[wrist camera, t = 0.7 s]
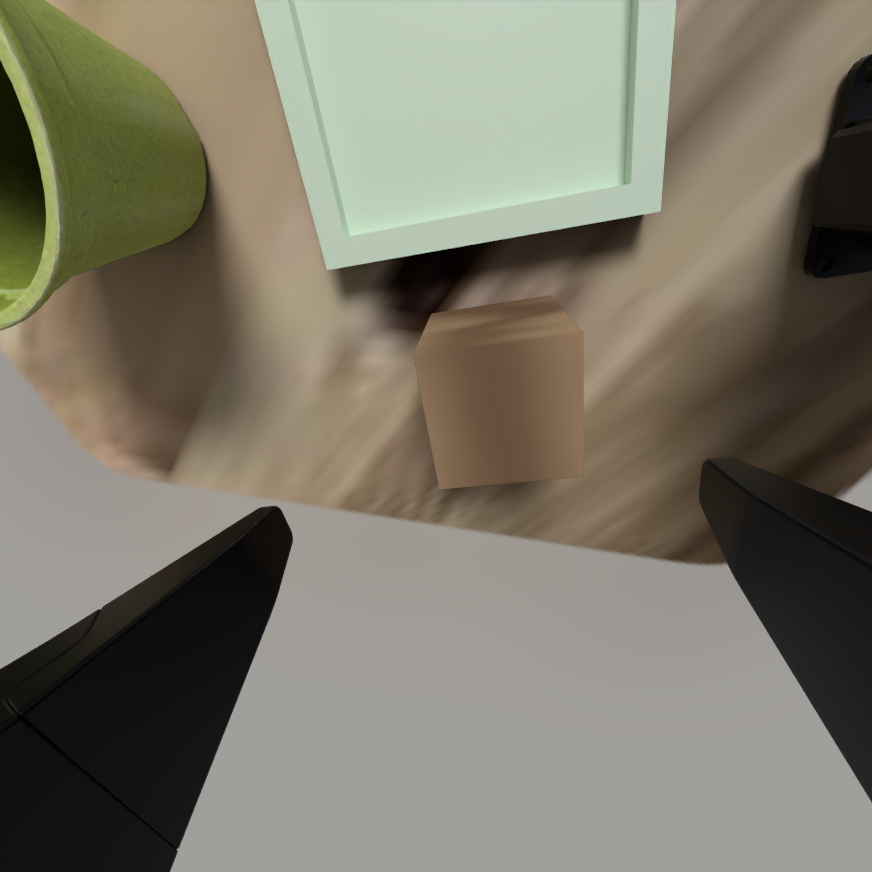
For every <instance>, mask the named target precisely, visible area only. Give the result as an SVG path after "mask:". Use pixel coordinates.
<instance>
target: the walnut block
mask: <svg viewBox="0 0 872 872" xmlns="http://www.w3.org/2000/svg"><path fill="white" fill-rule="evenodd" d="M413 357H414V362H415V367H416V372H417V377H418V382H419V388H420V393H421V398H422V403H423V408H424V413H425V418H426V423H427V428H428V433H429V439H430V444H431V449H432V454H433V459H434V464H435V469H436V474H437V479H438V485H439V489H449V488H461V487H472V486H483V485H495V484H506V483H518V482H529V481H541V480H552V479H564V478H575V477H584V389H583V331H582V330H581V328H580V327H579V326H578V325H577V324H576V323H575V322H574V321H573V320H572V319H571V317H570V316H569V315H568V314H567V313H566V312H565V311H564V310H563V309H562V308H561V307H560V305H559V304H558V303H557V302H556V301H555V300H554V299H553V298H552V297H551V296H544V297H537V298H531V299H524V300H518V301H511V302H505V303H498V304H492V305H485V306H479V307H472V308H466V309H459V310H453V311H446V312H440V313H433V314H431V316H430V318H429V321H428V323H427V325H426V327H425V330H424V332H423V334H422V336H421V339H420V341H419V343H418V345H417V348H416V350H415V352H414V354H413Z"/></svg>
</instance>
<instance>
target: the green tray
mask: <svg viewBox="0 0 872 872" xmlns="http://www.w3.org/2000/svg"><path fill="white" fill-rule="evenodd" d="M255 4H256V8H257V12H258V15H259V19H260V23H261V26H262V30H263V34H264V38H265V41H266V45H267V49H268V53H269V56H270V60H271V64H272V67H273V71H274V75H275V79H276V82H277V86H278V90H279V93H280V97H281V101H282V105H283V108H284V112H285V116H286V119H287V123H288V127H289V131H290V134H291V138H292V142H293V146H294V149H295V153H296V157H297V160H298V164H299V168H300V172H301V175H302V179H303V183H304V186H305V190H306V194H307V198H308V201H309V205H310V209H311V213H312V216H313V220H314V224H315V227H316V231H317V235H318V239H319V242H320V246H321V250H322V253H323V257H324V261H325V265H326V268H327V270H331V269H337V268H343V267H348V266H354V265H360V264H365V263H371V262H377V261H382V260H388V259H394V258H399V257H405V256H411V255H416V254H422V253H428V252H433V251H439V250H445V249H450V248H456V247H462V246H467V245H473V244H479V243H484V242H490V241H496V240H501V239H507V238H513V237H518V236H524V235H530V234H536V233H541V232H547V231H553V230H558V229H564V228H570V227H575V226H581V225H587V224H592V223H598V222H604V221H609V220H615V219H621V218H626V217H632V216H638V215H643V214H649V213H655V212H660V211H661V199H662V186H663V172H664V159H665V145H666V132H667V118H668V105H669V91H670V78H671V64H672V51H673V37H674V24H675V10H676V0H255Z"/></svg>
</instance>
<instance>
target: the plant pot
mask: <svg viewBox="0 0 872 872" xmlns="http://www.w3.org/2000/svg"><path fill="white" fill-rule="evenodd" d="M205 193H206V167H205V160H204V155H203V151H202V147H201V144H200V141H199V138H198V136H197V134H196V133H195V131H194V129H193V128H192V126H191V124H190V123H189V121H188V119H187V117H186V116H185V114H184V112H183V110H182V108H181V107H180V105H179V103H178V102H177V100H176V98H175V96H174V94H173V93H172V91H171V90H170V89H169V88H168V87H167V85H166V84H165V83H164V82H163V81H162V80H161V79H160V78H159V77H158V76H157V75H156V74H154V73H153V72H152V71H151V70H150V69H148V68H147V67H145V66H144V65H143V64H141V63H140V62H138V61H136V60H135V59H133V58H131V57H130V56H129V55H127V54H126V53H124V52H123V51H121V50H120V49H118V48H116V47H115V46H113V45H112V44H110V43H109V42H107V41H106V40H104V39H103V38H101V37H99V36H98V35H96V34H95V33H93V32H92V31H90V30H89V29H87V28H86V27H84V26H83V25H81V24H80V23H78V22H77V21H75V20H74V19H72V18H71V17H69V16H68V15H66V14H65V13H63V12H62V11H60V10H59V9H57V8H56V7H54V6H53V5H51V4H50V3H48V2H47V1H45V0H0V331H1V330H4V329H6V328H9V327H12V326H14V325H16V324H18V323H20V322H22V321H24V320H26V319H27V318H29V317H30V316H32V315H33V314H34V313H35V312H36V311H37V310H39V309H40V308H41V306H42V305H43V304H44V303H45V302H46V301H47V300H48V299H49V298H50V296H51V295H52V293H53V292H54V291H55V290H57V289H58V288H60V287H61V286H62V285H63V284H64V283H66V282H67V281H68V280H69V279H70V278H71V277H72V276H75V275H78V274H81V273H83V272H86V271H89V270H91V269H94V268H97V267H99V266H102V265H105V264H107V263H110V262H112V261H115V260H118V259H121V258H124V257H126V256H129V255H132V254H135V253H138V252H141V251H144V250H147V249H150V248H152V247H155V246H158V245H161V244H164V243H167V242H170V241H172V240H174V239H175V238H177V237H179V236H180V235H181V234H183V233H184V232H185V231H186V230H188V229H189V228H190V227H191V226H193V224H194V223H195V221H196V220H197V218H198V216H199V214H200V212H201V209H202V207H203V203H204V199H205Z"/></svg>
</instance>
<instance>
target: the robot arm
mask: <svg viewBox="0 0 872 872" xmlns="http://www.w3.org/2000/svg"><path fill="white" fill-rule="evenodd" d="M869 66H871V67H872V54H871V55H868V56H866V57H863V58H861V59H860V60H859V61H857V62H856V63H855V64H854V65H853V66H852V68H851V69H850V71H849V72H848V75H847V77H846V80H845V84H844V89H843V93H842V98H841V102H840V107H839V111H838V115H837V120H836V124H835V129H834V133H833V137H832V138H831V140H830V141H829V145H828V149H827V154H826V158H825V163H824V167H823V171H822V176H821V180H820V185H819V189H818V194H817V198H816V203H815V207H814V212H813V216H812V222H813V226H812V230H811V235H810V239H809V244H808V248H807V252H806V257H805V261H804V272H805V274H806V275H808V276H810V277H815V278H827V277H834V276H841V275H848V274H855V273H862V272H868V271H872V77H871V79H870V80H869V82H867V81H866V80H865V72H866V70H867V68H868V67H869ZM825 257H826V263H825V265H824V266H823V267H822V268H821V269H819V263H820V261H821V260H822V259H823V258H825ZM699 500H700V504H701V507H702V509H703V512H704V514H705V516H706V518H707V520H708V522H709V525H710V527H711V529H712V531H713V533H714V535H715V538H716V540H717V542H718V544H719V546H720V548H721V551H722V553H723V555H724V557H725V559H726V561H727V564H728V566H729V568H730V570H731V572H732V574H733V575H734V577H735V579H736V581H737V583H738V584H739V586H740V588H741V589H742V591H743V593H744V594H745V596H746V598H747V599H748V601H749V603H750V604H751V606H752V607H753V609H754V611H755V612H756V614H757V616H758V617H759V619H760V620H761V622H762V623H763V625H764V627H765V629H766V630H767V632H768V633H769V635H770V637H771V638H772V640H773V642H774V643H775V645H776V647H777V648H778V650H779V652H780V653H781V655H782V656H783V658H784V660H785V661H786V663H787V665H788V666H789V668H790V669H791V671H792V673H793V674H794V676H795V678H796V679H797V681H798V683H799V684H800V686H801V687H802V689H803V691H804V692H805V694H806V696H807V697H808V699H809V701H810V702H811V704H812V705H813V707H814V709H815V710H816V712H817V714H818V715H819V717H820V719H821V720H822V722H823V723H824V725H825V727H826V728H827V730H828V732H829V733H830V735H831V737H832V738H833V740H834V741H835V743H836V745H837V746H838V748H839V750H840V751H841V753H842V754H843V756H844V758H845V759H846V761H847V763H848V764H849V766H850V767H851V769H852V771H853V772H854V774H855V776H856V777H857V779H858V781H859V782H860V784H861V786H862V787H863V789H864V790H865V792H866V794H867V795H868V797H869V799H870V800H871V802H872V512H871V511H868V510H865V509H863V508H860V507H858V506H855V505H852V504H850V503H847V502H845V501H842V500H840V499H837V498H834V497H832V496H829V495H827V494H824V493H821V492H819V491H816V490H814V489H811V488H808V487H806V486H803V485H801V484H798V483H795V482H793V481H790V480H788V479H785V478H783V477H780V476H777V475H775V474H772V473H770V472H767V471H764V470H762V469H759V468H757V467H754V466H751V465H749V464H746V463H744V462H741V461H738V460H736V459H733V458H730V457H721V458H712V459H707V460H705V461H704V462H703V464H702V470H701V479H700V488H699ZM292 541H293V537H292V532H291V529H290V527H289V525H288V523H287V521H286V519H285V517H284V515H283V513H282V511H281V509H280V508H279V507H277V506H268V507H261V508H258V509H257V510H255V511H254V512H252V513H250V514H249V515H247V516H246V517H244V518H242V519H241V520H239V521H238V522H236V523H235V524H233V525H231V526H230V527H228V528H227V529H225V530H223V531H222V532H220V533H219V534H217V535H216V536H214V537H212V538H211V539H209V540H208V541H206V542H204V543H203V544H201V545H200V546H198V547H197V548H195V549H193V550H192V551H190V552H189V553H187V554H185V555H184V556H182V557H181V558H179V559H178V560H176V561H174V562H173V563H171V564H170V565H168V566H167V567H165V568H163V569H162V570H160V571H159V572H157V573H155V574H154V575H152V576H151V577H149V578H147V579H146V580H144V581H143V582H141V583H140V584H138V585H136V586H135V587H133V588H132V589H130V590H128V591H127V592H125V593H124V594H122V595H120V596H119V597H117V598H116V599H114V600H113V601H111V602H110V603H108V604H106V605H105V606H103V607H102V609H99V610H97V611H95V612H93V613H92V614H90V615H89V616H87V617H86V618H84V619H82V620H81V621H79V622H78V623H76V624H74V625H73V626H71V627H69V628H68V629H66V630H65V631H63V632H61V633H60V634H58V635H57V636H55V637H53V638H52V639H50V640H49V641H47V642H45V643H43V644H42V645H40V646H38V647H37V648H35V649H33V650H32V651H30V652H28V653H27V654H25V655H23V656H22V657H20V658H18V659H16V660H15V661H13V662H11V663H10V664H8V665H6V666H5V667H3V668H1V669H0V872H170V870H171V868H172V865H173V862H174V860H175V857H176V855H177V852H178V851H177V849H178V848H179V846H180V844H181V841H182V839H183V836H184V834H185V831H186V829H187V826H188V824H189V821H190V818H191V816H192V813H193V811H194V808H195V806H196V803H197V801H198V798H199V795H200V793H201V791H202V788H203V786H204V783H205V780H206V778H207V775H208V773H209V770H210V768H211V765H212V763H213V760H214V758H215V755H216V752H217V750H218V747H219V745H220V742H221V740H222V737H223V735H224V732H225V730H226V727H227V724H228V722H229V719H230V717H231V714H232V712H233V709H234V707H235V704H236V702H237V699H238V697H239V694H240V691H241V689H242V686H243V684H244V681H245V679H246V676H247V674H248V671H249V669H250V666H251V664H252V661H253V659H254V656H255V653H256V651H257V648H258V646H259V643H260V641H261V638H262V635H263V633H264V631H265V628H266V625H267V623H268V620H269V618H270V615H271V613H272V610H273V607H274V604H275V602H276V598H277V595H278V592H279V589H280V585H281V582H282V578H283V574H284V571H285V567H286V563H287V560H288V557H289V553H290V550H291V546H292Z"/></svg>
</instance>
